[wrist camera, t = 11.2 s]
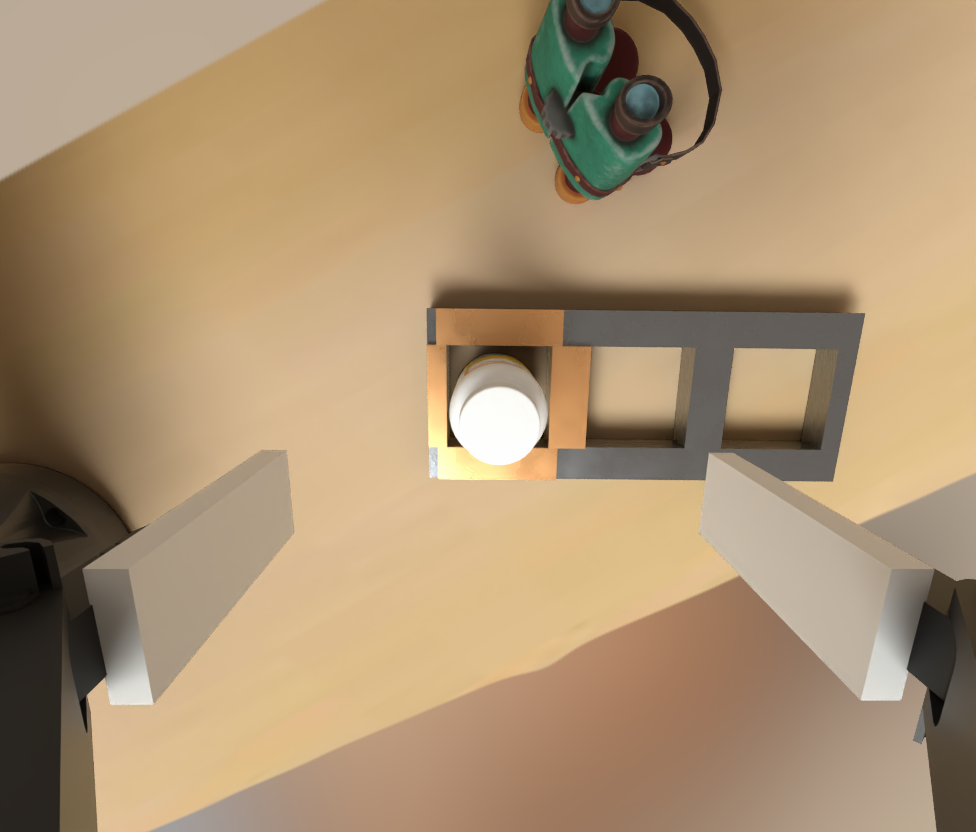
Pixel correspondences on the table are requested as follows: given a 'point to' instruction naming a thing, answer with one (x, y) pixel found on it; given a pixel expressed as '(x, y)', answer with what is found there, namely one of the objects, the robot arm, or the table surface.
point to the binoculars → (604, 96)
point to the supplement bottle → (498, 409)
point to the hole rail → (697, 399)
